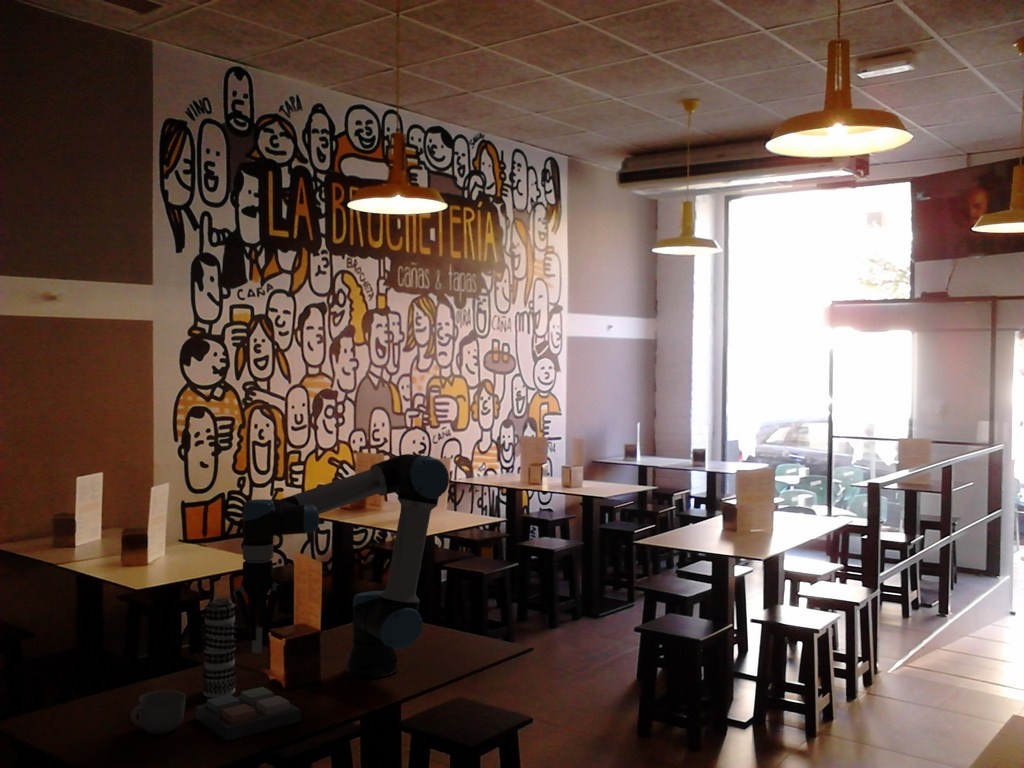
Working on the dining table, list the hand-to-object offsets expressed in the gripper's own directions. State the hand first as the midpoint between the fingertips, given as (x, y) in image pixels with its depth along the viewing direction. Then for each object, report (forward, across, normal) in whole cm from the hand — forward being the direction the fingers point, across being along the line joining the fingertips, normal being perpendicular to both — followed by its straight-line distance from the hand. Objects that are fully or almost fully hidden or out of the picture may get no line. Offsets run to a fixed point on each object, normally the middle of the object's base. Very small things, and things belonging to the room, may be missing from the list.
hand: (256, 652), depth 227 cm
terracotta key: (+13, +9, +9) cm, 18 cm away
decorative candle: (+15, +1, -20) cm, 25 cm away
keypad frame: (+15, +4, +4) cm, 16 cm away
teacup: (+16, +24, -3) cm, 29 cm away
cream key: (+13, 0, +9) cm, 16 cm away
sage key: (+13, 0, 0) cm, 13 cm away
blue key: (+13, +9, 0) cm, 16 cm away
